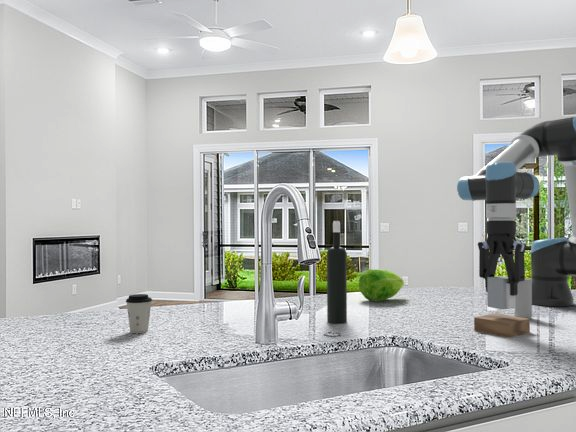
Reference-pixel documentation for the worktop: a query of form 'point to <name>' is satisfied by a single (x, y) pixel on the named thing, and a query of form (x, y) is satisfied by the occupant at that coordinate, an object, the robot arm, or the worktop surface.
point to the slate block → (497, 292)
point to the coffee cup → (138, 312)
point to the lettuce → (379, 284)
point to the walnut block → (502, 325)
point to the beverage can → (524, 299)
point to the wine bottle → (336, 280)
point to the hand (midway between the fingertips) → (501, 305)
